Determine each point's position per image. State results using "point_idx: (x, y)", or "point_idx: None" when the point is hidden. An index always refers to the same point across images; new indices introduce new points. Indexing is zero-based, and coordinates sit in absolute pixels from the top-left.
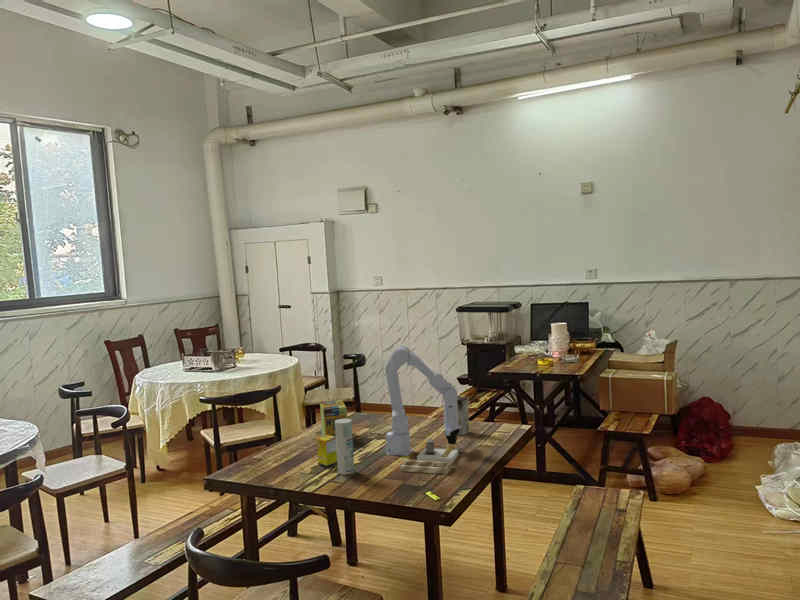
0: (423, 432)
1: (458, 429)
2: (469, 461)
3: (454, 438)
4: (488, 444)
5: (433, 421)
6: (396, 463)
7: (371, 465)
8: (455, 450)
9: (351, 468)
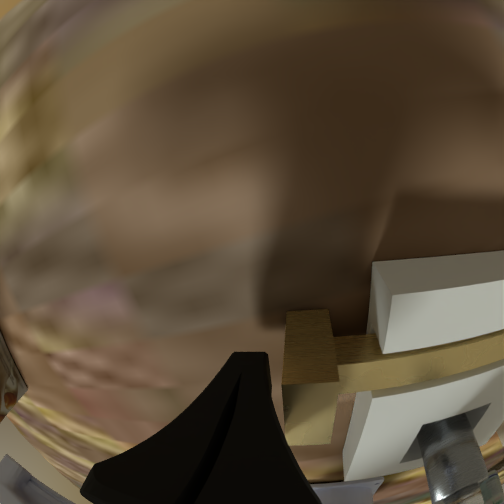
0: (77, 447)
1: (85, 496)
2: (486, 114)
3: (291, 454)
4: (11, 123)
5: None
6: None
7: None
8: (415, 316)
9: (496, 479)
